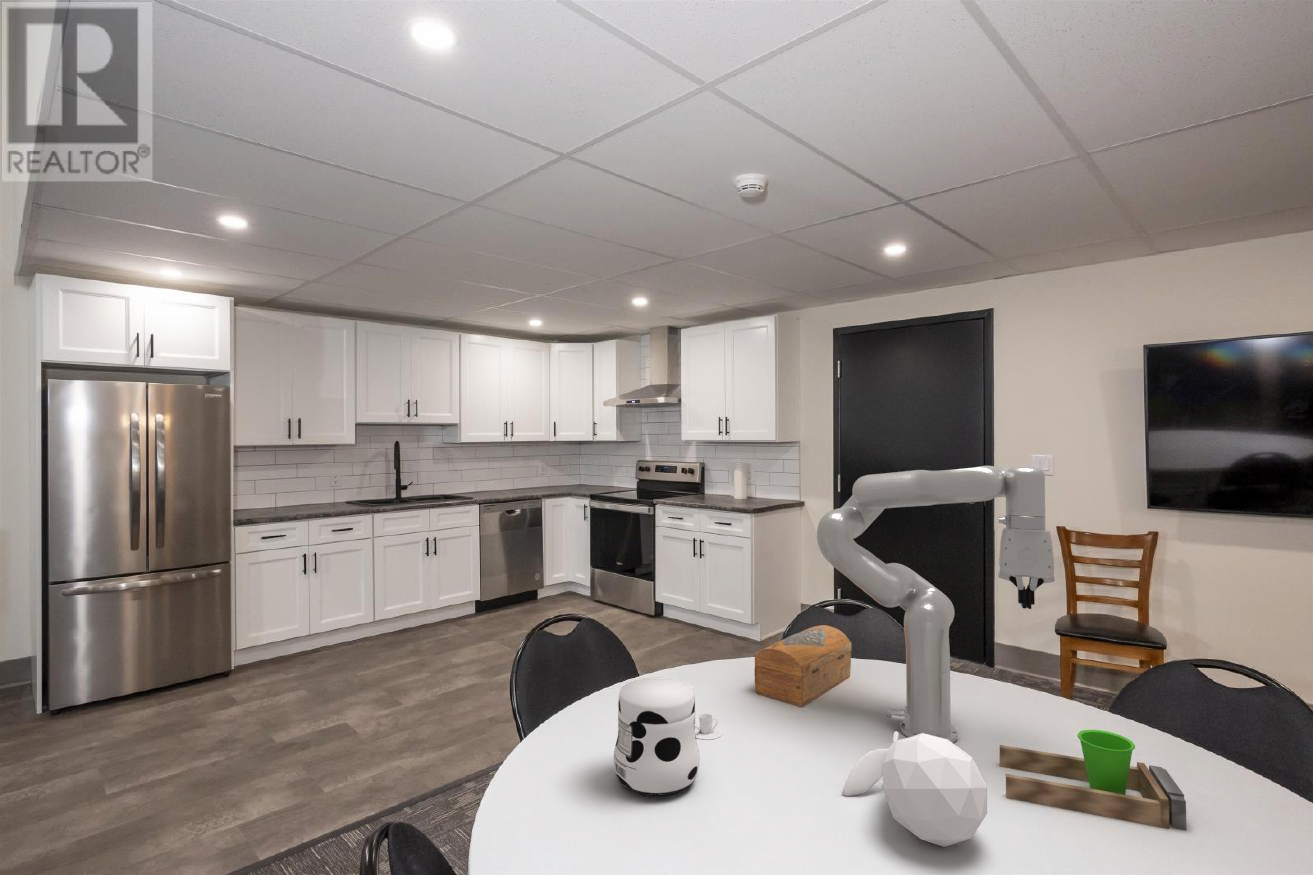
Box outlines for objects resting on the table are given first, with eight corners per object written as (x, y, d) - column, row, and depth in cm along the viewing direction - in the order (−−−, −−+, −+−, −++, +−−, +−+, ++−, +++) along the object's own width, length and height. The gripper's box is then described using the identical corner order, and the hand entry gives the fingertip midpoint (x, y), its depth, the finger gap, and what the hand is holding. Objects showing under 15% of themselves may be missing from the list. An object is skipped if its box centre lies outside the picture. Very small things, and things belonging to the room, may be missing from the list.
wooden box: (802, 665, 199) (802, 620, 199) (853, 677, 188) (853, 630, 188) (749, 692, 177) (749, 641, 177) (803, 708, 166) (803, 654, 166)
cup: (1149, 810, 118) (1146, 750, 118) (1098, 810, 118) (1096, 750, 119) (1116, 785, 127) (1114, 729, 127) (1069, 785, 127) (1067, 729, 128)
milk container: (709, 767, 135) (709, 681, 135) (685, 811, 118) (685, 712, 119) (632, 754, 140) (632, 671, 141) (599, 794, 124) (599, 700, 124)
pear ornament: (971, 741, 103) (898, 680, 131) (859, 827, 102) (809, 747, 130) (1031, 824, 103) (945, 745, 131) (920, 911, 102) (857, 813, 130)
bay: (1006, 797, 123) (1006, 769, 123) (999, 763, 136) (999, 738, 136) (1189, 832, 112) (1188, 801, 112) (1162, 791, 125) (1161, 763, 125)
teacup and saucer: (680, 737, 149) (680, 719, 150) (692, 724, 157) (692, 707, 157) (717, 744, 146) (716, 726, 146) (726, 730, 154) (726, 712, 154)
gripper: (988, 523, 140) (989, 608, 140) (1068, 527, 134) (1069, 615, 134) (986, 520, 147) (986, 600, 147) (1062, 523, 141) (1063, 607, 141)
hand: (1026, 607), depth 141 cm, fingers closed
